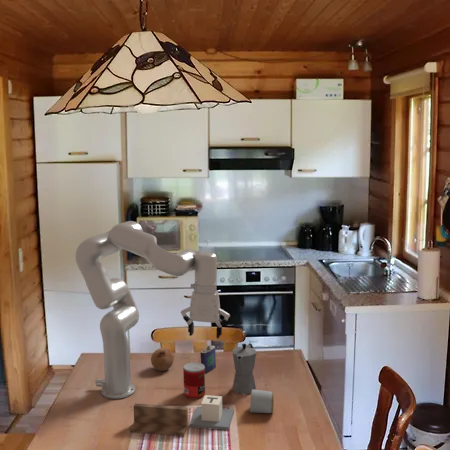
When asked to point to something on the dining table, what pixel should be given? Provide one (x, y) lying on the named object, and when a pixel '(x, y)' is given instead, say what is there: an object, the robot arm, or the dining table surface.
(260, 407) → the ceramic mug
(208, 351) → the flask
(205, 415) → the marked cube
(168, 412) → the walnut screen
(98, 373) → the dining table surface
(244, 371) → the coffeepot
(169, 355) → the onion
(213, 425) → the slate mat
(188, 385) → the canned food
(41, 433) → the dining table surface
